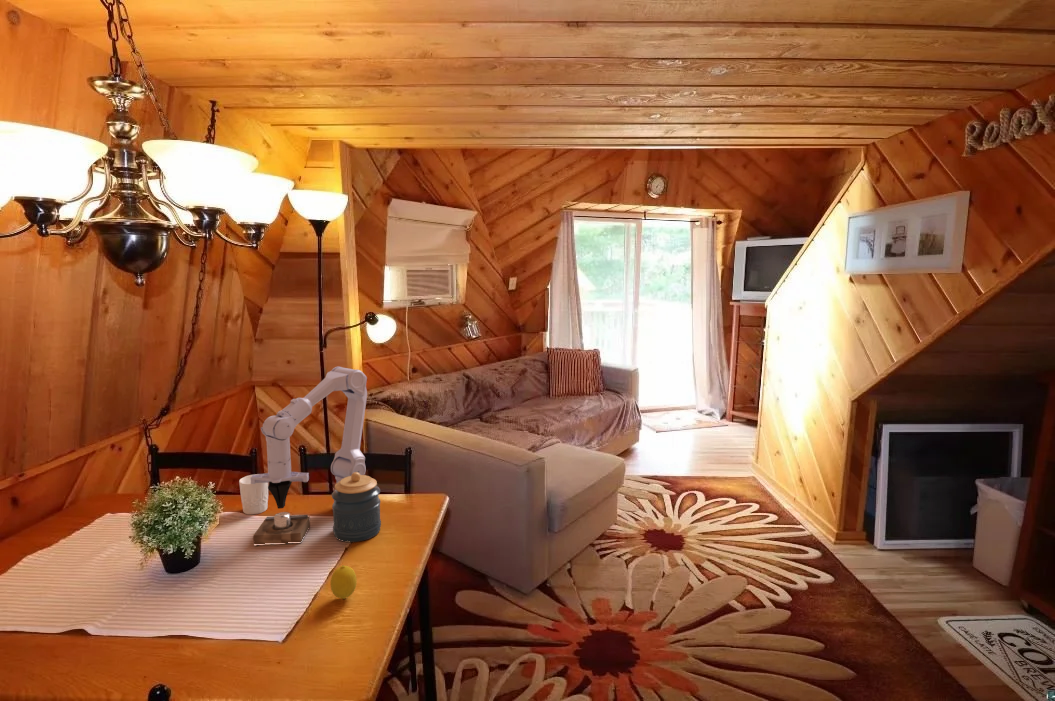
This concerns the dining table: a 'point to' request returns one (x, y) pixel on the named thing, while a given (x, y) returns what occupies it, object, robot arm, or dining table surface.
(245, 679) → the dining table surface
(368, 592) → the dining table surface
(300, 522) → the block
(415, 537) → the dining table surface
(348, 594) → the lemon
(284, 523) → the bushing
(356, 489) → the canister
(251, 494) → the white cup
